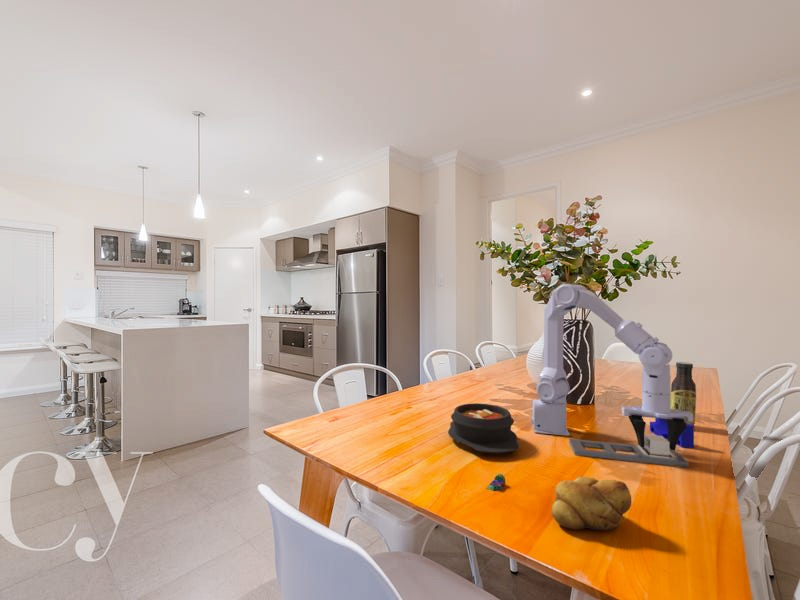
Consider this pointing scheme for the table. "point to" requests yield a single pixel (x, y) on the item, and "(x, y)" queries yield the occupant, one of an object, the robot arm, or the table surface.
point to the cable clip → (661, 430)
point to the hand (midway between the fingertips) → (656, 447)
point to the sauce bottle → (684, 390)
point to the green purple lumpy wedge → (497, 483)
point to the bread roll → (590, 503)
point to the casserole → (483, 428)
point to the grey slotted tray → (609, 453)
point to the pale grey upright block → (656, 445)
